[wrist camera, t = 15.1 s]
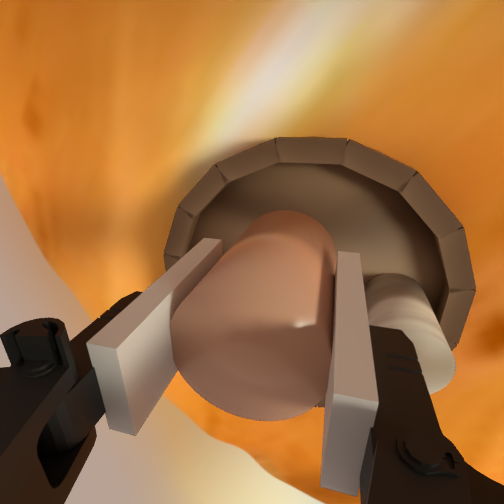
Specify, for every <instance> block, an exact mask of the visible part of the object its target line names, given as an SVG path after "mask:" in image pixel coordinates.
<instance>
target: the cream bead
mask: <svg viewBox="0 0 504 504" xmlns="http://www.w3.org/2000/svg"><path fill="white" fill-rule="evenodd" d="M364 291H365V299H366V306H367V314H368V322H369V325H373V326H379V327H386V328H393V329H399V330H402V331H403V332H404V333H405V335H406V336H407V337H408V338H409V339H410V340H411V341H412V342H413V344H414V347H415V350H416V353H417V356H418V362H419V363H420V366H421V369H422V375H424V379H425V382H426V385H427V388H428V391H429V394H433V393H435V392H437V391H439V390H441V389H443V388H444V387H445V386H447V385H448V384H449V383H450V381H451V380H452V378H453V376H454V374H455V371H456V362H455V358H454V356H453V353H452V351H451V349H450V347H449V345H448V343H447V340H446V338H445V336H444V334H443V332H442V330H441V327H440V325H439V323H438V321H437V319H436V316H435V314H434V312H433V310H432V308H431V306H430V303H429V301H428V299H427V297H426V295H425V292H424V290H423V288H422V287H421V285H420V284H419V283H418V282H417V281H416V280H414V279H413V278H411V277H409V276H407V275H404V274H399V273H386V274H382V275H379V276H376V277H374V278H372V279H371V280H370V281H368V282H367V283H366V284H365V285H364Z"/></svg>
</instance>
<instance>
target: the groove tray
mask: <svg viewBox="0 0 504 504" xmlns="http://www.w3.org/2000/svg"><path fill="white" fill-rule="evenodd" d="M279 210H291V211H297V212H300V213H303V214H306V215H308V216H310V217H312V218H313V219H315V220H316V221H318V222H319V223H320V224H321V225H322V226H323V227H324V228H325V229H326V230H327V232H328V233H329V234H330V236H331V238H332V240H333V242H334V245H335V249H336V256H337V255H338V251H343V252H353V253H360V259H361V267H362V275H363V283H364V285H365V284H366V283H367V282H368V281H370V280H371V279H372V278H374V277H376V276H379V275H382V274H386V273H399V274H404V275H407V276H409V277H411V278H413V279H414V280H416V281H417V282H418V283H419V284H420V285H421V287H422V288H423V290H424V292H425V295H426V297H427V299H428V301H429V303H430V306H431V308H432V310H433V312H434V314H435V316H436V319H437V321H438V323H439V325H440V327H441V330H442V332H443V334H444V336H445V338H446V340H447V343H448V345H449V347H450V349H451V351H452V350H453V349H454V348H455V347H456V346H457V344H458V343H459V340H460V337H461V334H462V331H463V328H464V325H465V322H466V319H467V316H468V313H469V310H470V307H471V304H472V301H473V298H474V295H475V292H476V290H475V289H476V286H475V280H474V275H473V270H472V265H471V260H470V255H469V250H468V245H467V240H466V235H465V230H464V228H463V227H462V226H463V225H462V224H461V223H460V222H459V220H458V219H457V218H456V217H455V215H454V214H453V213H452V212H451V211H450V209H449V208H448V207H447V206H446V205H445V203H444V202H443V201H442V200H441V199H440V197H439V196H438V195H437V194H436V193H435V191H434V190H433V189H432V188H431V187H430V185H429V184H428V183H427V182H426V181H425V179H424V178H423V177H422V176H421V175H420V173H419V172H418V171H416V170H415V169H414V168H412V167H410V166H408V165H405V164H403V163H401V162H399V161H397V160H395V159H392V158H390V157H388V156H387V155H385V154H383V153H381V152H379V151H377V150H374V149H371V148H369V147H366V146H364V145H362V144H360V143H358V142H356V141H353V140H351V139H349V140H348V141H347V138H324V137H278V138H274V139H272V140H270V141H267V142H265V143H263V144H260V145H258V146H256V147H253V148H251V149H249V150H246V151H244V152H242V153H239V154H237V155H235V156H232V157H230V158H228V159H225V160H223V161H221V162H218V163H216V164H215V165H213V167H212V168H211V169H210V170H209V171H208V172H207V173H206V174H205V176H204V177H203V178H202V179H201V180H200V181H199V182H198V183H197V185H196V186H195V187H194V188H193V189H192V190H191V191H190V192H189V194H188V195H187V196H186V197H185V198H184V199H183V200H182V201H181V202H180V204H179V206H178V207H177V209H176V213H175V216H174V220H173V223H172V227H171V230H170V233H169V237H168V240H167V244H166V247H165V251H164V253H165V254H164V261H165V269H166V271H167V270H169V269H170V268H171V267H172V266H173V265H174V264H175V263H176V262H178V261H179V260H180V259H181V258H182V257H183V256H184V255H185V254H187V253H188V252H189V251H190V250H191V249H192V248H193V247H194V246H196V245H197V244H198V243H199V242H200V241H201V240H202V239H203V238H211V239H221V240H222V255H224V254H225V253H226V252H227V250H228V249H229V248H230V247H231V246H232V245H233V244H234V243H235V241H236V240H237V239H238V238H239V237H240V236H241V235H242V233H243V232H244V231H245V230H246V229H247V228H248V227H249V226H250V225H251V224H252V222H254V221H255V220H256V219H257V218H259V217H261V216H262V215H264V214H267V213H269V212H273V211H279ZM336 263H337V260H336ZM456 343H457V344H456ZM325 397H326V394H325V395H324V397H323V398H322V399H321V400H320V401H319V403H318V404H317V405H318V407H325ZM317 405H316V406H314V407H317Z"/></svg>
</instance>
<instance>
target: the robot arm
mask: <svg viewBox="0 0 504 504" xmlns="http://www.w3.org/2000/svg"><path fill="white" fill-rule="evenodd" d="M222 256H223V255H222V240H221V239H211V238H203V239H202V240H201V241H200V242H199V243H198V244H197V245H196V246H194V247H193V248H192V249H191V250H190V251H189V252H188V253H187V254H185V255H184V256H183V257H182V258H181V259H180V260H179V261H178V262H176V263H175V264H174V265H173V266H172V267H171V268H170V269H169V270H167V271H166V272H165V273H164V274H163V275H162V276H161V277H160V278H158V279H157V280H156V281H155V282H154V283H153V284H152V285H151V286H150V287H148V288H147V289H146V290H145V291H144V292H138V291H136V292H134V293H132V294H130V295H128V296H126V297H124V298H121V299H120V300H119V301H118V302H117V303H115V304H114V305H113V306H112V307H111V308H110V310H107V311H106V312H105V313H103V314H102V315H101V316H100V318H97V319H96V320H95V321H94V322H92V323H91V324H90V325H89V326H88V327H87V328H85V329H84V330H83V331H82V332H80V333H79V334H78V335H77V336H76V337H74V339H72V340H71V341H69V338H68V334H67V331H66V328H65V324H64V323H63V322H62V321H60V320H59V319H55V318H39V319H34V320H30V321H27V322H23V323H21V324H19V325H16V326H14V327H12V328H10V329H8V330H7V331H5V332H4V333H3V334H1V335H0V338H1V340H2V343H3V345H4V348H5V350H6V353H7V355H8V358H9V360H10V362H11V366H10V367H3V368H0V504H64V503H65V501H66V499H67V497H68V495H69V493H70V491H71V489H72V487H73V485H74V483H75V481H76V480H77V478H78V476H79V474H80V472H81V470H82V468H83V466H84V464H85V462H86V460H87V458H88V456H89V454H90V452H91V450H92V448H93V446H94V443H95V440H96V437H97V435H96V429H95V425H96V423H97V422H98V421H99V419H100V418H101V417H102V416H103V415H104V413H105V414H106V418H107V422H108V426H109V429H112V430H116V431H120V432H123V433H127V434H130V435H134V436H136V435H137V433H138V432H139V430H140V428H141V427H142V425H143V424H144V422H145V421H146V419H147V418H148V416H149V414H150V413H151V411H152V410H153V408H154V407H155V405H156V403H157V402H158V400H159V399H160V397H161V396H162V394H163V393H164V391H165V390H166V388H167V386H168V385H169V383H170V382H171V380H172V379H173V377H174V376H175V374H176V372H177V371H178V369H177V367H176V364H175V362H174V360H173V352H172V344H171V336H170V323H171V320H172V317H173V315H174V313H175V311H176V309H177V308H178V307H179V305H180V304H181V303H182V302H183V300H184V299H185V298H186V297H187V296H188V295H189V294H190V292H191V291H192V290H193V289H194V288H195V287H196V286H197V285H198V283H199V282H200V281H201V280H202V279H203V278H204V277H205V275H206V274H207V273H208V272H209V271H210V270H211V269H212V268H213V266H214V265H215V264H216V263H217V262H218V261H219V260H220V258H221V257H222ZM320 487H323V488H327V489H331V490H334V491H338V492H341V493H345V494H349V495H352V496H356V497H357V496H358V492H359V487H360V494H361V504H504V485H502V484H500V483H498V482H496V481H494V480H492V479H490V478H488V477H487V476H485V475H483V474H481V473H480V472H478V471H476V470H475V469H474V468H473V467H471V466H470V465H469V464H467V463H466V462H465V461H464V458H463V457H462V455H461V454H460V453H459V451H458V450H457V449H456V447H455V446H454V444H453V443H452V442H451V441H450V440H449V439H447V438H446V437H445V436H444V435H443V434H442V431H441V429H440V427H439V423H438V420H437V417H436V414H435V411H434V407H433V404H432V401H431V398H430V395H429V391H428V388H427V385H426V382H425V379H424V375H422V369H421V366H420V363H419V362H418V356H417V353H416V350H415V347H414V344H413V342H412V341H411V340H410V339H409V338H408V337H407V336H406V335H405V333H404V332H403V331H402V330H399V329H393V328H386V327H379V326H373V325H369V322H368V314H367V306H366V299H365V291H364V283H363V275H362V267H361V259H360V253H353V252H343V251H338V255H337V263H336V271H335V286H334V309H333V333H332V356H331V364H330V372H329V379H328V387H327V392H326V397H325V414H324V431H323V448H322V465H321V482H320Z"/></svg>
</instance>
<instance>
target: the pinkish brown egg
mask: <svg viewBox="0 0 504 504" xmlns="http://www.w3.org/2000/svg"><path fill="white" fill-rule="evenodd" d="M336 260H337V256H336V249H335V245H334V242H333V240H332V238H331V236H330V234H329V233H328V232H327V230H326V229H325V228H324V227H323V226H322V225H321V224H320V223H319V222H318V221H316V220H315V219H313V218H312V217H310V216H308V215H306V214H303V213H300V212H297V211H291V210H279V211H273V212H269V213H267V214H264V215H262V216H261V217H259V218H257V219H256V220H255V221H254V222H252V224H251V225H250V226H249V227H248V228H247V229H246V230H245V231H244V232H243V233H242V235H241V236H240V237H239V238H238V239H237V240H236V241H235V243H234V244H233V245H232V246H231V247H230V248H229V249H228V250H227V252H226V253H225V254H224V255H223V256H222V257H221V258H220V260H219V261H218V262H217V263H216V264H215V265H214V266H213V268H212V269H211V270H210V271H209V272H208V273H207V274H206V275H205V277H204V278H203V279H202V280H201V281H200V282H199V283H198V285H197V286H196V287H195V288H194V289H193V290H192V291H191V292H190V294H189V295H188V296H187V297H186V298H185V299H184V300H183V302H182V303H181V304H180V305H179V307H178V308H177V309H176V311H175V313H174V315H173V317H172V320H171V323H170V336H171V344H172V352H173V360H174V362H175V364H176V367H177V369H178V370H179V372H180V373H181V375H182V377H183V378H184V379H185V380H186V382H187V383H188V384H189V385H190V386H191V387H192V388H193V389H194V390H195V391H196V392H197V393H198V394H199V395H200V396H201V397H203V398H204V399H205V400H207V401H208V402H209V403H211V404H213V405H214V406H216V407H218V408H220V409H222V410H224V411H226V412H228V413H231V414H233V415H236V416H239V417H243V418H247V419H252V420H259V421H279V420H286V419H290V418H294V417H296V416H299V415H302V414H303V413H305V412H307V411H309V410H310V409H312V408H313V407H314V406H316V405H317V404H318V403H319V401H320V400H321V399H322V398H323V397H324V395H325V394H326V392H327V387H328V379H329V372H330V364H331V356H332V333H333V309H334V286H335V271H336Z"/></svg>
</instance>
